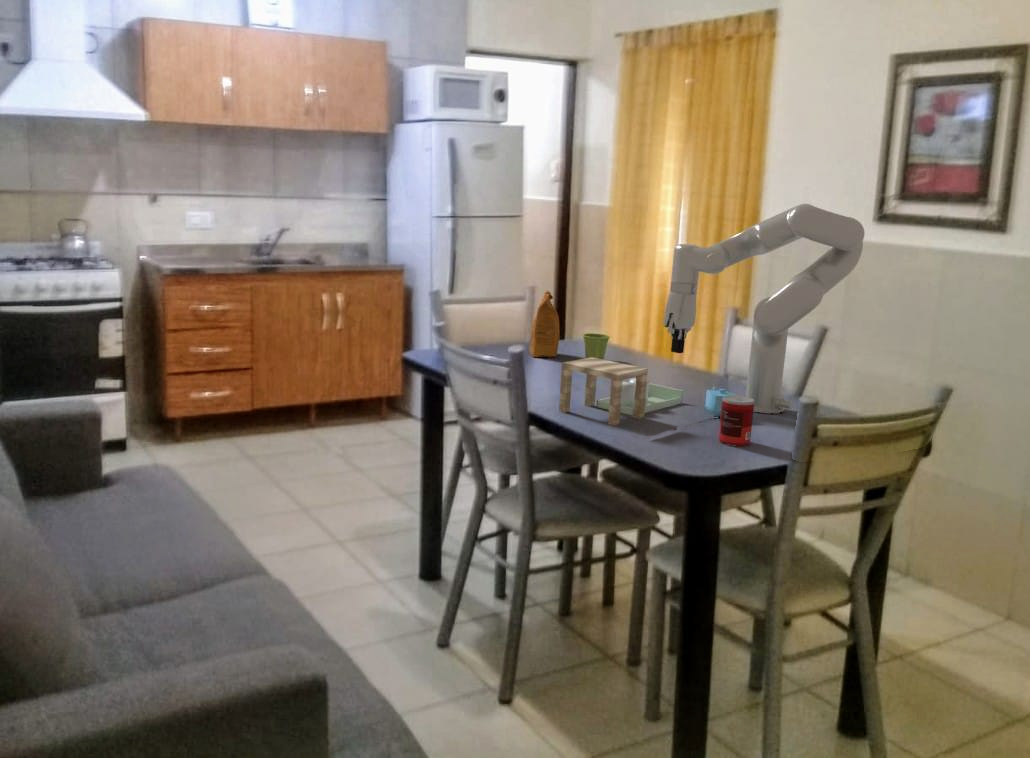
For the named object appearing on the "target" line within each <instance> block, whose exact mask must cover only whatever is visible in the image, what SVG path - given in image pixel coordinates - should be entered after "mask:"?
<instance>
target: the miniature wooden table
mask: <svg viewBox="0 0 1030 758" xmlns="http://www.w3.org/2000/svg"><path fill="white" fill-rule="evenodd" d="M648 371H649V370H648V368H645V367H640V366H637V365H631V364H628V363H627V364H626V363H622V362H617V361H612V360H607V359H604V360H603V359H598V358H593V357H591V358H586V357H585V358H580V359H576V360H570V361H569V360H568V361H563V362H562V363H561V372H560V390H559V403H558V404H559V405H558V412H559V413H563V414H567V413H570V411H571V399H572V398H571V395H572V383H573V382H572V380H573V372H577V373H581V374H586V378H585V379H586V380H585V389H584V390H585V393H584V394H585V395H584V406H586V407H588V408H589V407H590V408H591V407H595V406H596V395H597V390H596V389H597V379H598V378H597V377H600V378H604V379H610V395H609V397H610V405H609V410H608V422H607V425H611V426H614V427H615V426H618V425H620V417H621V413H620V407H621V394H622V382H624V381H623V380H628V379H633V378H636V387H635V400H634V412H633V416H632V418H634V419H638V420H640V419H644V418H645V413H644V409H645V397H646V385H647V380H648Z"/></svg>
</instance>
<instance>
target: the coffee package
mask: <svg viewBox="0 0 1030 758" xmlns="http://www.w3.org/2000/svg"><path fill="white" fill-rule="evenodd" d="M553 299H554V297H553V295H552V293H551V292H550V291H549V290H546V291H545V292H544V293H543V297H542V299H541V302H540V304H539V306H538V308H537V309H536V310H537V311H536V314H535V317H534V320H533V323H532V326H531V332H530V342H529V352H530V353H529V354H530V355H531V356H532V357H533V358H551V357H552V358H553V357H557V355H558V352H559V351H558V350H559V345H560V335H561V334H560V332H561V331H560V318H559V314H558V312H557V310H556V309H555V307H554V305H553V304H552V302H551V300H553Z"/></svg>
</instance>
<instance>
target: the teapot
mask: <svg viewBox="0 0 1030 758" xmlns="http://www.w3.org/2000/svg"><path fill="white" fill-rule="evenodd" d="M711 387H712V389H706V394H705V395H706V396H705V405H704V406H705V407H704V410H705V411H706V412H708V413H710V414H711V415H713V417H719V418H720V417H721V407H722V399H723V397H724V396H728V395H736V394H735V393H733V392H731V391H730V390H728V389H724V388H719V389H717V388H716V387H715V386H711Z"/></svg>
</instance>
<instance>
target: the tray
mask: <svg viewBox="0 0 1030 758" xmlns="http://www.w3.org/2000/svg"><path fill="white" fill-rule="evenodd" d="M683 400H684V389H679V388H674V387H670V386H669V387H668V386H667V385H666V386H665V385H661V384H655V383H651V382H649V390H648V401H647V405H645V409H644V414H646V413H650V412H653V411H658V410H661V409H665V408H668V407H673V406H677V405H681V404H683ZM609 405H610V396H609V397H605V398H601V399H597V400H596V403H595V406H596V408H600V409H603V410H604V409H605V410H608V411H609ZM633 412H634V407H633V408H630V407H626V406H621V407H620V414H624V415H629V416H632V417H633Z"/></svg>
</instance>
